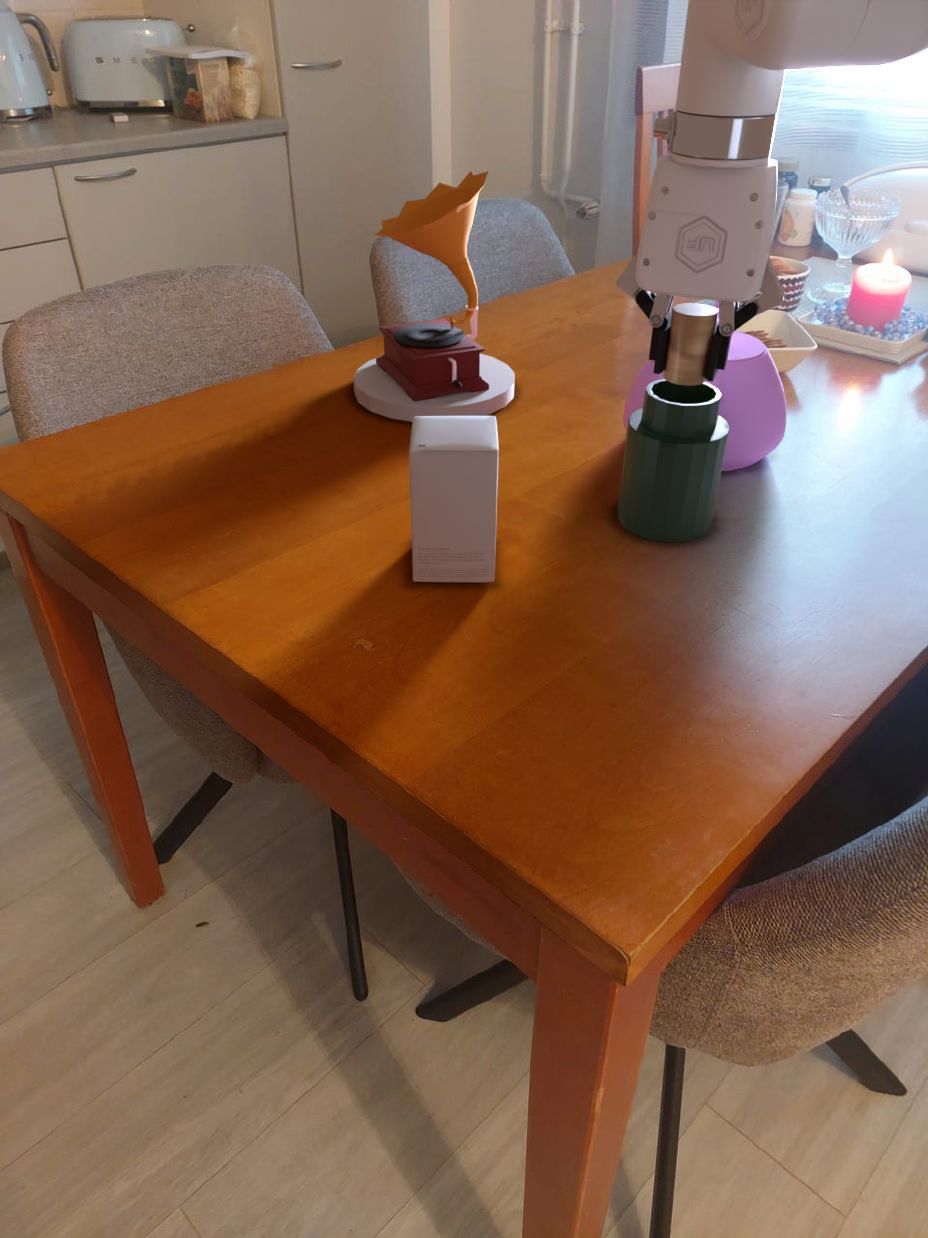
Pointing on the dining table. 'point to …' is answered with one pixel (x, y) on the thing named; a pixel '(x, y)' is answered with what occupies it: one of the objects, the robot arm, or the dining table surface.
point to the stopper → (689, 343)
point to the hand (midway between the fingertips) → (686, 370)
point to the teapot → (737, 400)
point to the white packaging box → (453, 498)
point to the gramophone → (436, 325)
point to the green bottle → (673, 462)
